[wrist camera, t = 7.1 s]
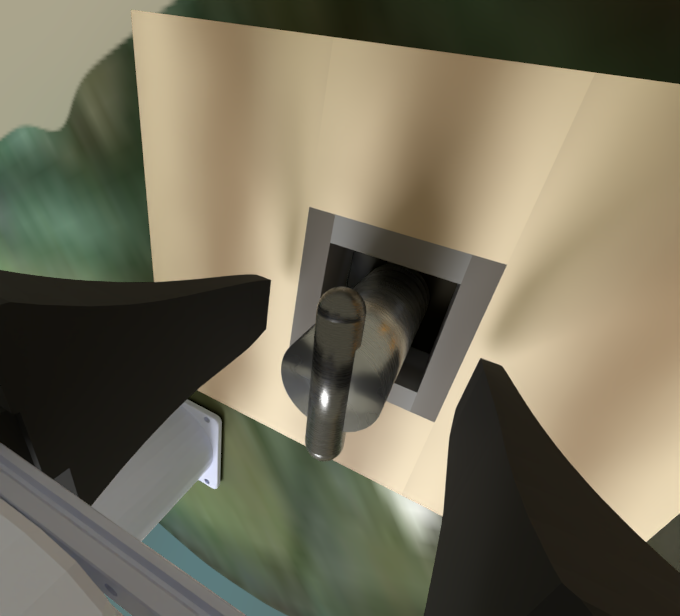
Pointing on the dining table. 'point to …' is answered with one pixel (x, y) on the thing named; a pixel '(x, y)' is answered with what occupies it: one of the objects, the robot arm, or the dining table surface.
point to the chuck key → (353, 354)
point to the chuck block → (433, 233)
